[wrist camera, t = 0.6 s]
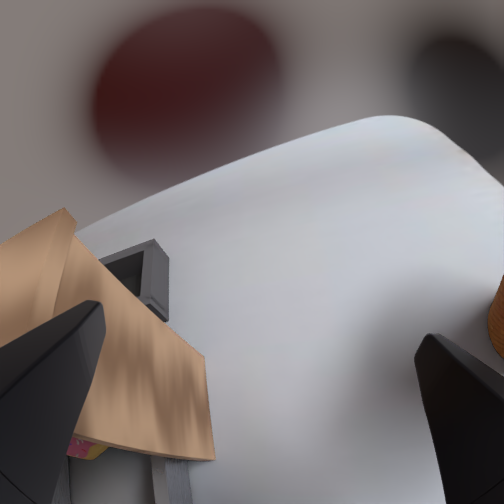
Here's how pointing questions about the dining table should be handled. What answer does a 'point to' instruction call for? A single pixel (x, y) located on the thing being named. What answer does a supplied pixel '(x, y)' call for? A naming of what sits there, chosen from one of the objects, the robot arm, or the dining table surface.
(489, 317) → the disposable coffee cup
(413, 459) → the dining table surface
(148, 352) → the small wooden table
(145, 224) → the dining table surface
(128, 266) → the box
